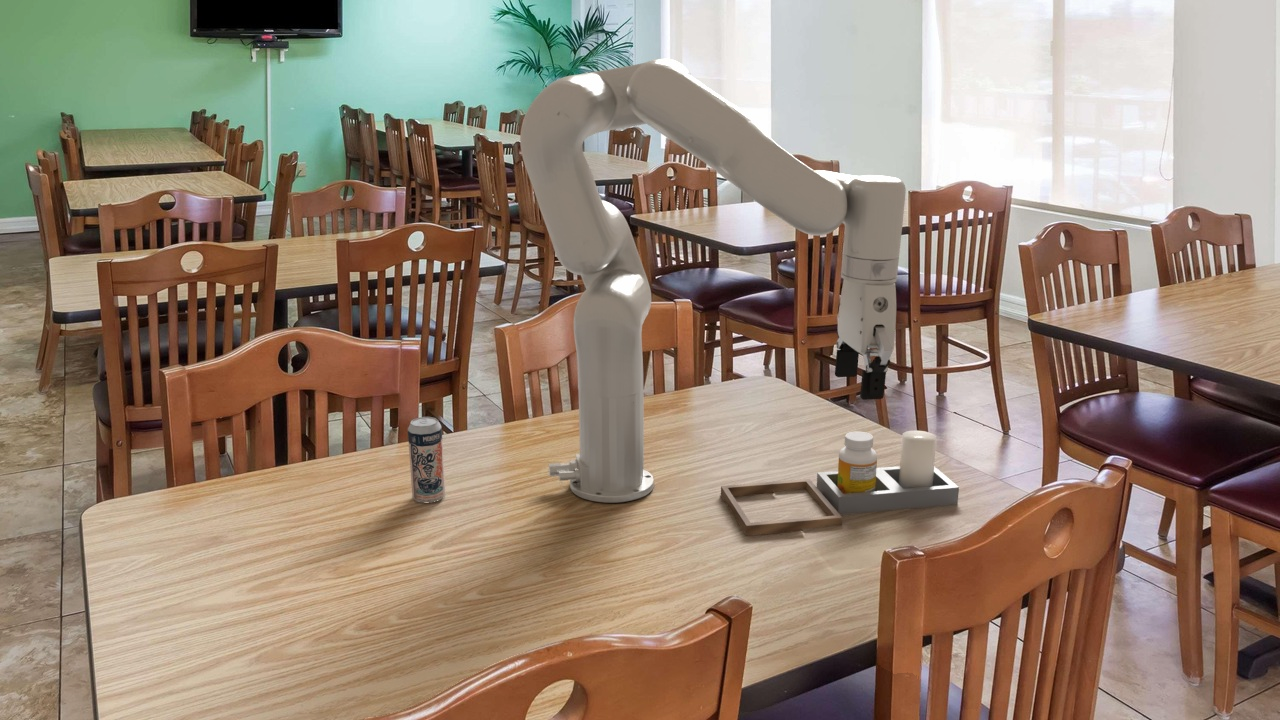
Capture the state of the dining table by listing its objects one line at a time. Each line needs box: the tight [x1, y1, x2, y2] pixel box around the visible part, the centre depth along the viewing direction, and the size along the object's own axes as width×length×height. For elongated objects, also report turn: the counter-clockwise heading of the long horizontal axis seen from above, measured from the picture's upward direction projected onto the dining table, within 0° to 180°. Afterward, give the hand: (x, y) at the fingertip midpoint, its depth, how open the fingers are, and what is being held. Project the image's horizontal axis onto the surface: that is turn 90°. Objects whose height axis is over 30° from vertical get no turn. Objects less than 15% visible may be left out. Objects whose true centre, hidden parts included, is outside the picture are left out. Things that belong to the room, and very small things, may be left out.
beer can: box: [407, 416, 447, 503], centre depth 157 cm, size 5×5×12 cm
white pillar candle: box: [899, 430, 938, 489], centre depth 157 cm, size 5×5×9 cm
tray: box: [720, 478, 843, 537], centre depth 154 cm, size 14×14×2 cm
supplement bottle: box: [837, 430, 878, 494], centre depth 156 cm, size 5×5×10 cm
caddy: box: [816, 465, 960, 515], centre depth 158 cm, size 18×9×3 cm, turn 100°
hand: (858, 387), depth 152 cm, fingers open, 9 cm apart
